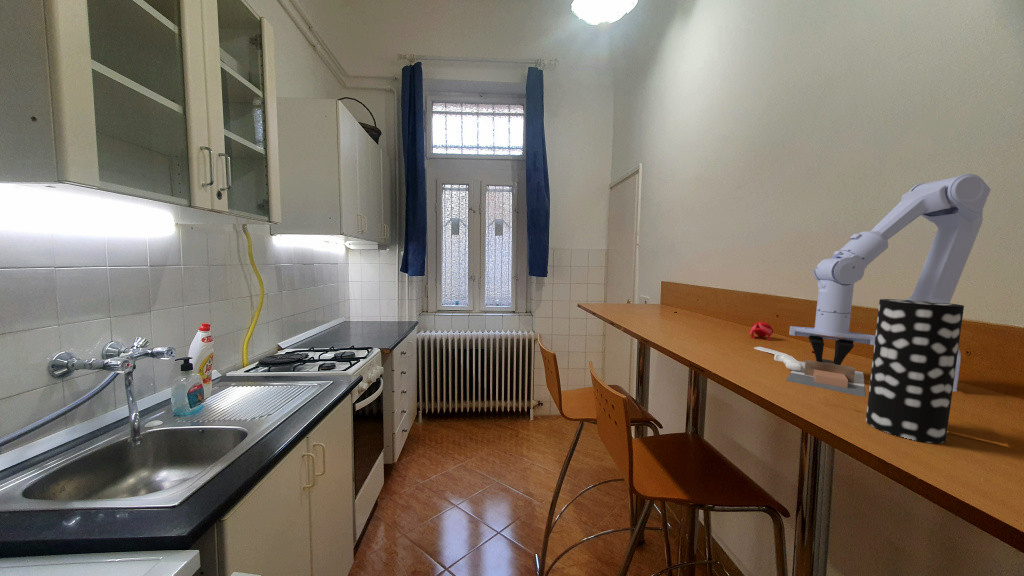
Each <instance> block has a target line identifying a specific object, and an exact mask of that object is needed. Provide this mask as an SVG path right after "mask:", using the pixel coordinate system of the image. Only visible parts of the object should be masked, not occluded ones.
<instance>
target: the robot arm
mask: <svg viewBox="0 0 1024 576" xmlns="http://www.w3.org/2000/svg"><path fill="white" fill-rule="evenodd" d="M991 190H992V189H991V188H990V187H989V185H988V184H987V183H986V182H985V181H984V179H983V178H981V177H980V176H979V175H977V174H974V173H965V174H961V175H958V176H954V177H950V178H944V179H940V180H939V179H938V180H935V181H930V182H923V183H917V184H915V185H914V186H912V187H911V188H910V189H909V191H907V192H905V193H903V194H902V195H901V200H900V201H899V202H898V204H896V205H895V206H894V207H893V208H892V210H890V211H889V212H888V213H887V214H886V215H885V216H884V217H883V218H882V219H881V220H880V221H879V222H878V223H877V224H876V225H874V227H873V228H872V229H871V230H870V231H869V230H868V231H860V232H858V233H853V234H852V235H851V236H850V237H849V239H850V240H849V241H848V242H847V243H846V244H844V245H843V246H842V247H841V248H840V249H839V250H835V251H834V252H833V254H832V256H831V258H830V257H828V258H824V259H822V260H821V261H819V262H818V264H817V265H816V268H815V269H813V270H812V272H813V273H812V274H813V276H814V278H815V280H816V281H817V288H818V290H817V292H818V293H817V301H816V302H817V303H816V311H815V320H814V321H815V322H814V327H808V326H807V327H803V326H794V325H793V326H792V325H789V332H788V334H789V336H797V337H798V336H799V337H805V338H806V337H807V338H808V340H809V342H810V343H809V344H810V345H811V347H812V349H813V354H814V356H815V361H817V362H822V359H823V354H824V353H823V352H824V348H825V347H824V346H825V342H824V340H831V341H835V345H834V357H833V362H834V364H837V365H842V363H843V361H844V360H845V358H846V357H847V355H848V354H849V353H850V352H851V351H852V350H853V348H854V346H855V343H857V344H863V345H864V344H865V345H866V344H867V345H869V346H874V344H875V335H876V334H868V333H867V334H866V333H860V332H853V331H850V325H851V323H850V322H851V315H852V308H853V307H852V306H853V296H854V288H855V287H854V286H855V283H857V282H859V281H861V280H862V279H863V277H864V274H865V270H866V268H868V266H869V265H870V264H871V263H872V262H873V261H874V260H876V259H877V258H878V257H879V256H881V254H883V253H884V252H885V251H886V250H887V249H889V240H890V239H891V238H892V237H893V236H895V235H896V234H898V233H899V232H900V231H902V230H903V229H904V228H906V227H907V226H908V225H910V224H911V223H913V222H914V221H915V220H917V219H918V218H919V217H920V216H921V217H923V218H924V219H925V220H928V221H929V222H930V223H933V224H934V225H935V226H936V227H937V230H936V233H935V236H934V238H933V241H932V243H931V245H930V249H929V251H928V253H927V256H926V259H925V261H924V263H923V266H922V269H921V272H920V274H919V277H918V279H917V282H916V285H915V287H914V289H913V292H912V295H911V296H909V297H907V298H906V299H905V300H915V301H929V302H940V303H950V304H951V301H952V299H953V296H954V294H955V291H956V288H957V286H958V284H959V281H960V279H961V276H962V274H963V271H964V269H965V267H966V264H967V261H968V259H969V257H970V254H971V251H972V249H973V246H974V244H975V241H976V239H977V237H978V235H979V232H980V230H981V226H982V224H983V221H984V220H983V219H984V217H983V213H984V208H985V205H986V202H987V200H988V197H989V196H990V193H991ZM961 356H962V355H961V350H960V348H958V354H957V362H956V369H955V377H954V384H953V391H952V392H955V393H957V392H958V383H959V375H960V369H961V368H960V367H961V358H962V357H961Z"/></svg>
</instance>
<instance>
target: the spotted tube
mask: <svg viewBox="0 0 1024 576" xmlns="http://www.w3.org/2000/svg"><path fill="white" fill-rule="evenodd" d="M964 309H965V305H964V304H963V305H962V304H957V303H951V302H950V303H940V302H929V301H915V300H906V299H893V298H882V299H881V298H880V299H879V303H878V310H877V311H878V312H877V320H876V326H875V327H876V328H875V329H876V330H875V334H874V335H875V344H874V345H873V355H872V361H871V362H872V363H871V372H870V380H869V390H868V397H867V405H866V413H865V414H866V415H865V422H866V423H867V424H868V425H869V426H871V427H873V428H874V429H877V430H878V429H879V431H881V432H883V433H886V432H887V433H886V434H889V433H890V434H889V435H891V434H892V435H891V436H895V435H896V436H895V437H898V436H899V438H901V437H904V438H903V439H905V438H907V439H906V440H909V439H912V440H911V441H914V440H915V442H919V443H920V442H921V443H925V444H926V443H927V444H944V443H946V441H947V435H948V428H949V421H950V413H951V412H950V411H951V406H952V398H953V392H954V391H953V384H954V377H955V369H956V362H957V354H958V349H959V347H960V345H959V344H960V339H961V338H960V337H961V331H962V325H963V323H962V322H963V317H964V316H963V315H964ZM943 442H944V443H943Z"/></svg>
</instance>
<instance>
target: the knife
mask: <svg viewBox="0 0 1024 576" xmlns="http://www.w3.org/2000/svg"><path fill="white" fill-rule="evenodd" d="M753 349H755V350H757V351H760V352H765V353H769V354H772V355H774V356H773V359H774V361H776V362H783V363H784V365H785V367H786V369H789V370H791V371H792V370H800V369H801V368H802V366H801V364H800V363H799V362H798V361H799V360H797V359H796V358H794V357H793V356H792V355H789V354H787V353H784V352H780V351H777V350H774V349H770V348H766V347H763V346H755V347H753Z"/></svg>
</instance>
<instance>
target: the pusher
mask: <svg viewBox="0 0 1024 576" xmlns="http://www.w3.org/2000/svg"><path fill="white" fill-rule="evenodd" d="M804 362H805V369H804V374H805V375H810V376H813V371H814V369H815V370H821V371H827V372H833V373H840V374H844V375H845V376H846V378H847V379H848V382H850V383H854V375H855V371H856V368H855V367H854V366H849V365H842V364H841V365H837V364H834V359H825V358H822V362H817V361H816V360H811V359H805V360H804Z"/></svg>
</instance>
